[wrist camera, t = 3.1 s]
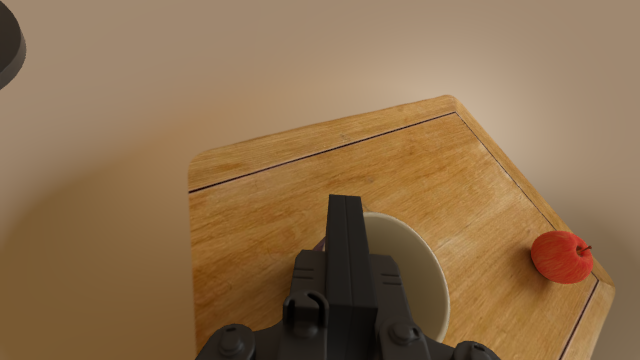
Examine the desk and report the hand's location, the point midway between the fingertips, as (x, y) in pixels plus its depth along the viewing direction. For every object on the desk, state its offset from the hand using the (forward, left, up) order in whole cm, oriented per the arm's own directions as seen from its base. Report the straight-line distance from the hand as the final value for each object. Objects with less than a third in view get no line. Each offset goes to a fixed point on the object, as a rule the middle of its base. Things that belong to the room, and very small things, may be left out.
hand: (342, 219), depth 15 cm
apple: (+46, +15, -20) cm, 52 cm away
